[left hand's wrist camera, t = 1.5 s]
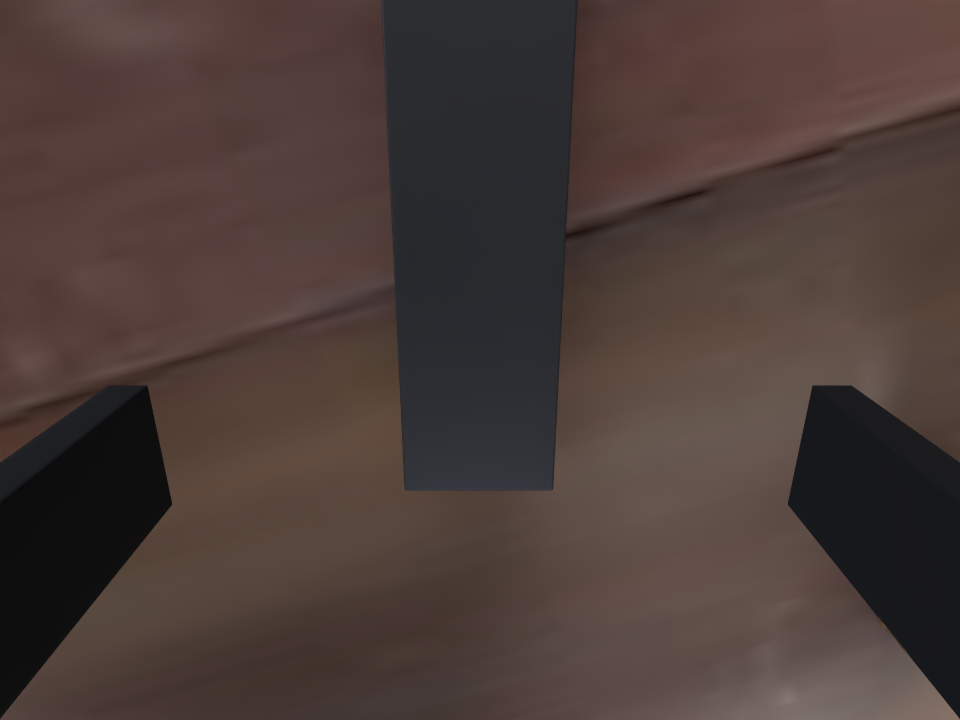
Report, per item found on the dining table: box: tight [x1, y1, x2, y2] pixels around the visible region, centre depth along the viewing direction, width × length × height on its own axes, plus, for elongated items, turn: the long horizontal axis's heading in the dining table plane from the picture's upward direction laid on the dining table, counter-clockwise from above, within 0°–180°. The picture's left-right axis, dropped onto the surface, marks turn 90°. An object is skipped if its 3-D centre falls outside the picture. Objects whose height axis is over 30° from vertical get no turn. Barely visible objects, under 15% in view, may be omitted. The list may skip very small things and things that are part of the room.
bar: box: [381, 0, 577, 490], centre depth 19 cm, size 22×4×9 cm, turn 0°
